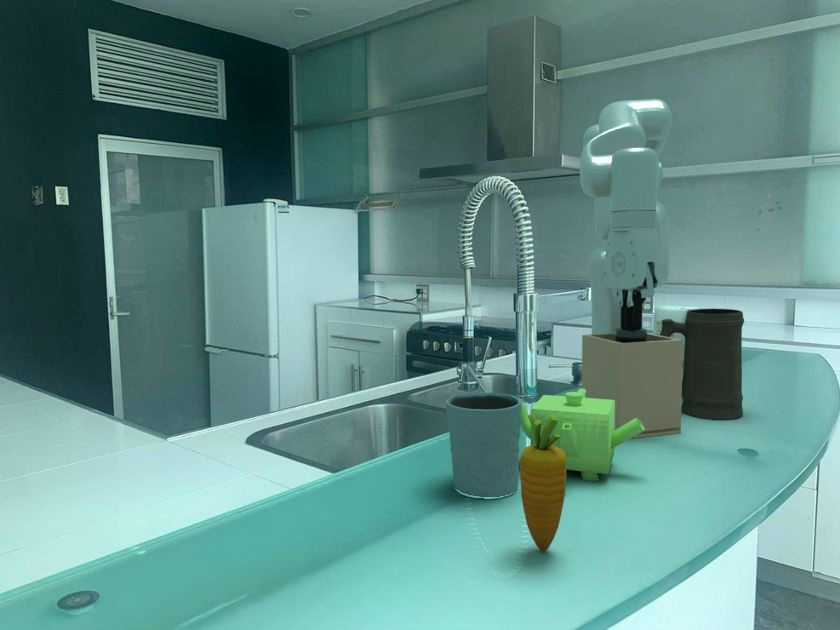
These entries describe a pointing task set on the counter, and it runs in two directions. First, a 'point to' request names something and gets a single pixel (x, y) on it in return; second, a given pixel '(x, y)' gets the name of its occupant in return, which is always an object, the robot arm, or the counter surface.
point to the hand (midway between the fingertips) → (631, 329)
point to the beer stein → (711, 362)
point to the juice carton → (676, 315)
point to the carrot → (543, 483)
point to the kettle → (582, 430)
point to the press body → (636, 379)
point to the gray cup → (484, 442)
